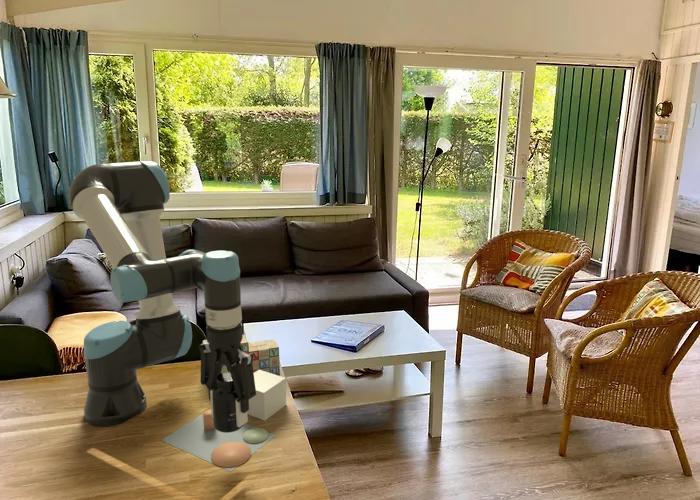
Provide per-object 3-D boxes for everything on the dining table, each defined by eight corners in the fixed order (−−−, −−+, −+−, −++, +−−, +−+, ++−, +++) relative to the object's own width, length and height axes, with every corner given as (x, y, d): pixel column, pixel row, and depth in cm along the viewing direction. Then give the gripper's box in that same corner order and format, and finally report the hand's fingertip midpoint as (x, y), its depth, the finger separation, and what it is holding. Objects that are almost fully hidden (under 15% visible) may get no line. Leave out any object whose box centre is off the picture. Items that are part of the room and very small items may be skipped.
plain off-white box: (238, 414, 144) (236, 383, 142) (260, 399, 151) (259, 369, 149) (264, 424, 140) (263, 392, 137) (286, 408, 147) (285, 378, 145)
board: (161, 444, 131) (160, 425, 130) (210, 413, 144) (209, 395, 143) (232, 477, 120) (231, 456, 119) (278, 440, 133) (277, 421, 132)
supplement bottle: (237, 435, 119) (235, 385, 116) (208, 431, 121) (205, 382, 118) (249, 418, 126) (247, 370, 123) (221, 415, 127) (218, 368, 124)
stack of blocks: (275, 366, 171) (274, 329, 167) (280, 375, 165) (279, 337, 162) (204, 377, 163) (202, 339, 160) (207, 387, 158) (204, 348, 154)
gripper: (178, 319, 119) (185, 414, 125) (247, 339, 109) (252, 440, 115) (203, 309, 125) (209, 399, 131) (271, 326, 115) (274, 423, 121)
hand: (229, 418), depth 123 cm, fingers closed on supplement bottle, 7 cm apart
